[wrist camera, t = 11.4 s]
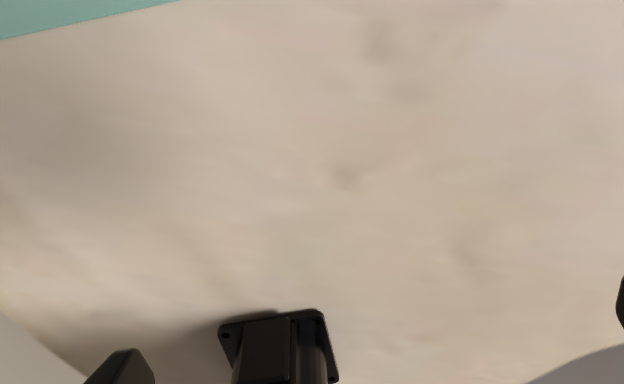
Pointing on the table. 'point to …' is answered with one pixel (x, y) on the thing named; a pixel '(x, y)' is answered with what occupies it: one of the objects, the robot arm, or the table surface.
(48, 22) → the teal picture frame
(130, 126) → the table surface
